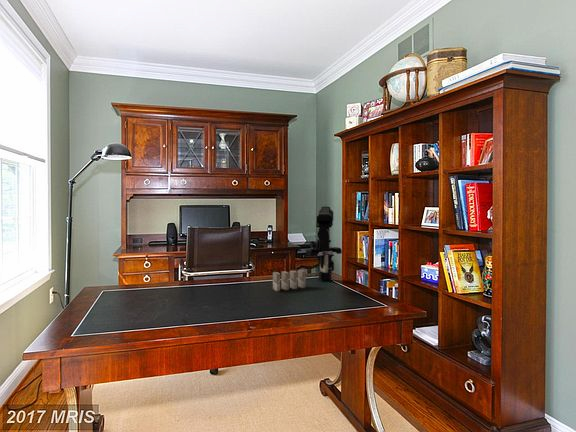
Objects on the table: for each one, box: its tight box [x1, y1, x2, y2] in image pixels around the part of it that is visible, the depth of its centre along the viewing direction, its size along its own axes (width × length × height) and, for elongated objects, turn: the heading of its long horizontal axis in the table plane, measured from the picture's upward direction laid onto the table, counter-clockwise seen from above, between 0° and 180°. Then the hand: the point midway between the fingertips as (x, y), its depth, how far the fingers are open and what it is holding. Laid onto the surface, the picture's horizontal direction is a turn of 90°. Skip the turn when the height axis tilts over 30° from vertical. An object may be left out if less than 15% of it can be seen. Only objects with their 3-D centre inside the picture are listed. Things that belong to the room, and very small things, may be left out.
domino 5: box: [319, 254, 328, 273], centre depth 200 cm, size 2×5×9 cm, turn 26°
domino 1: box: [272, 271, 281, 292], centre depth 201 cm, size 2×5×9 cm, turn 26°
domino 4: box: [297, 269, 307, 289], centre depth 208 cm, size 2×5×9 cm, turn 26°
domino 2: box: [280, 270, 290, 291], centre depth 204 cm, size 2×5×9 cm, turn 26°
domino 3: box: [289, 270, 298, 290], centre depth 206 cm, size 2×5×9 cm, turn 26°
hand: (323, 267), depth 200 cm, fingers closed on domino 5, 2 cm apart
